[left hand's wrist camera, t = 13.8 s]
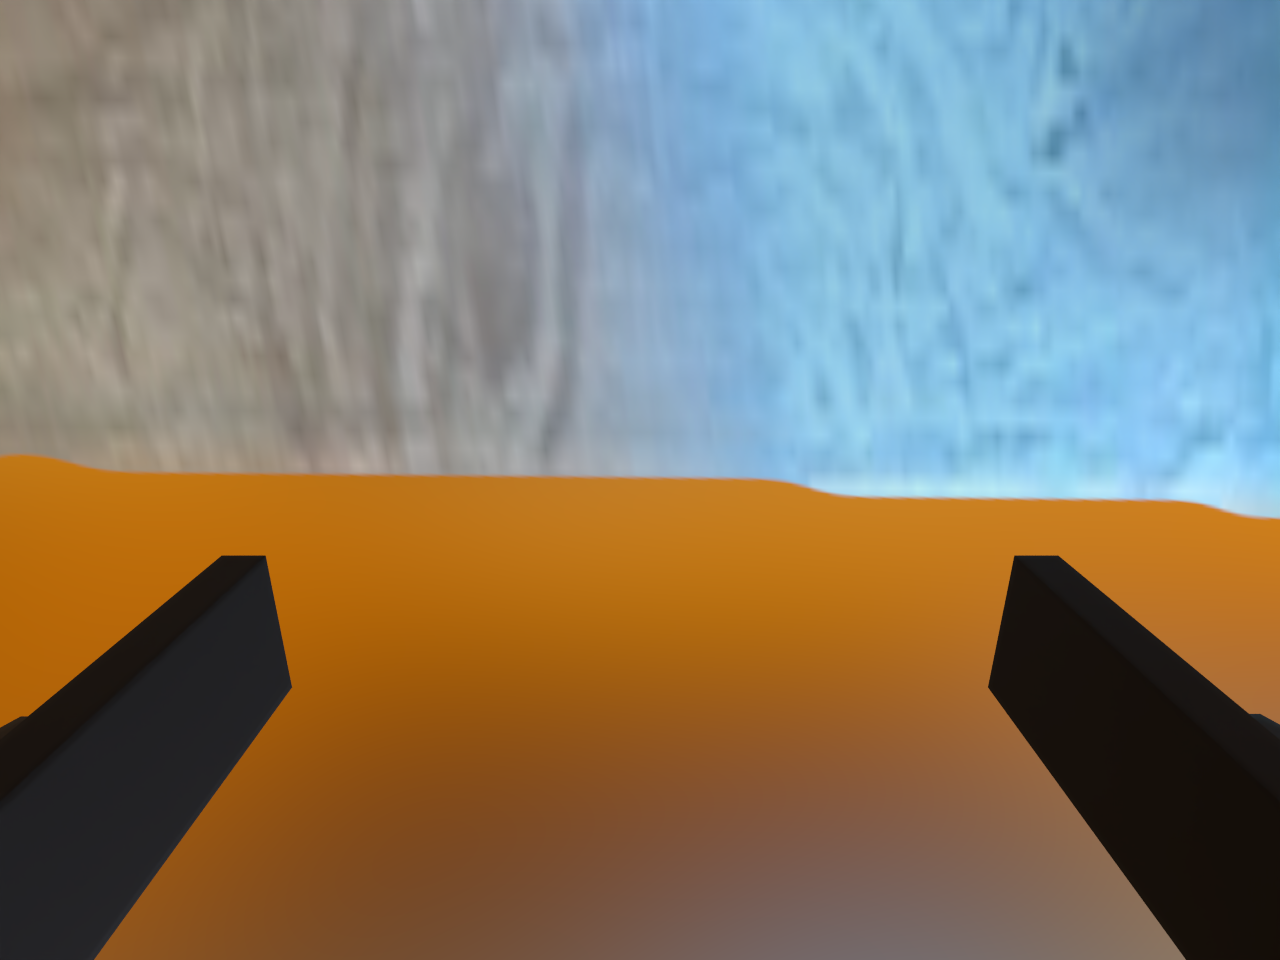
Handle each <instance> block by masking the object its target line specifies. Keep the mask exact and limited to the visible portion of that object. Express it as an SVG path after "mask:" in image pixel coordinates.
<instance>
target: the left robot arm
mask: <svg viewBox="0 0 1280 960" xmlns="http://www.w3.org/2000/svg"><path fill="white" fill-rule="evenodd" d="M291 688H292V685H291V680H290V676H289V671H288V665H287V661H286V655H285V651H284V645H283V640H282V636H281V631H280V625H279V620H278V616H277V610H276V605H275V601H274V596H273V591H272V586H271V581H270V576H269V571H268V566H267V561H266V556H221V557H220V558H218V559H217V560H216V561H215V562H214V563H212V564H211V565H210V566H209V567H208V568H206V569H205V570H204V571H203V572H202V573H200V574H199V575H198V576H197V577H195V578H194V579H193V580H192V581H191V582H189V583H188V584H187V585H186V586H185V587H183V588H182V589H181V590H180V591H179V592H177V593H176V594H175V595H174V596H173V597H171V598H170V599H169V600H168V601H167V602H165V603H164V604H163V605H162V606H161V607H159V608H158V609H157V610H156V611H155V612H153V613H152V614H151V615H150V616H149V617H147V618H146V619H145V620H144V621H143V622H141V623H140V624H139V625H138V626H136V627H135V628H134V629H133V630H132V631H130V632H129V633H128V634H127V635H126V636H124V637H123V638H122V639H121V640H120V641H118V642H117V643H116V644H115V645H114V646H112V647H111V648H110V649H109V650H108V651H106V652H105V653H104V654H103V655H102V656H100V657H99V658H98V659H97V660H95V661H94V662H93V663H92V664H91V665H89V666H88V667H87V668H86V669H85V670H83V671H82V672H81V673H80V674H79V675H77V676H76V677H75V678H74V679H73V680H71V681H70V682H69V683H68V684H67V685H65V686H64V687H63V688H62V689H61V690H59V691H58V692H57V693H56V694H55V695H53V696H52V697H51V698H50V699H49V700H47V701H46V702H45V703H44V704H42V705H41V706H40V707H39V708H38V709H36V710H35V711H34V712H33V713H32V714H30V715H29V716H28V717H19V718H17V719H15V720H13V721H12V722H10V723H8V724H6V725H4V726H3V727H1V728H0V960H94V959H95V957H96V956H97V955H98V953H99V952H100V951H101V949H102V948H103V946H104V945H105V944H106V942H107V941H108V940H109V938H110V937H111V935H112V934H113V933H114V931H115V930H116V929H117V927H118V926H119V924H120V923H121V922H122V920H123V919H124V917H125V916H126V915H127V913H128V912H129V911H130V909H131V908H132V907H133V905H134V904H135V902H136V901H137V900H138V898H139V897H140V896H141V894H142V893H143V891H144V890H145V889H146V887H147V886H148V885H149V883H150V882H151V880H152V879H153V878H154V876H155V875H156V873H157V872H158V871H159V869H160V868H161V867H162V865H163V864H164V863H165V861H166V860H167V858H168V857H169V856H170V854H171V853H172V852H173V850H174V849H175V847H176V846H177V845H178V843H179V842H180V841H181V839H182V838H183V836H184V835H185V834H186V832H187V831H188V829H189V828H190V827H191V825H192V824H193V823H194V821H195V820H196V818H197V817H198V816H199V814H200V813H201V812H202V810H203V809H204V808H205V806H206V805H207V803H208V802H209V801H210V799H211V798H212V796H213V795H214V794H215V792H216V791H217V790H218V788H219V787H220V786H221V784H222V783H223V781H224V780H225V779H226V777H227V776H228V774H229V773H230V772H231V770H232V769H233V768H234V766H235V765H236V763H237V762H238V761H239V759H240V758H241V757H242V755H243V754H244V753H245V751H246V750H247V748H248V747H249V746H250V744H251V743H252V742H253V740H254V739H255V737H256V736H257V735H258V733H259V732H260V730H261V729H262V728H263V726H264V725H265V724H266V722H267V721H268V719H269V718H270V717H271V715H272V714H273V713H274V711H275V710H276V708H277V707H278V706H279V704H280V703H281V702H282V700H283V699H284V697H285V696H286V695H287V693H288V692H289V691H290V689H291ZM988 688H989V689H990V691H991V692H992V693H993V695H994V696H995V697H996V699H997V700H998V702H999V703H1000V704H1001V706H1002V707H1003V708H1004V710H1005V711H1006V713H1007V714H1008V715H1009V717H1010V718H1011V719H1012V721H1013V722H1014V724H1015V725H1016V726H1017V728H1018V729H1019V731H1020V732H1021V733H1022V735H1023V736H1024V737H1025V739H1026V740H1027V741H1028V743H1029V744H1030V746H1031V747H1032V748H1033V750H1034V751H1035V753H1036V754H1037V755H1038V757H1039V758H1040V759H1041V761H1042V762H1043V764H1044V765H1045V766H1046V768H1047V769H1048V770H1049V772H1050V773H1051V775H1052V776H1053V777H1054V778H1055V780H1056V781H1057V783H1058V784H1059V786H1060V787H1061V788H1062V790H1063V791H1064V792H1065V794H1066V795H1067V796H1068V798H1069V799H1070V801H1071V802H1072V803H1073V805H1074V806H1075V808H1076V809H1077V810H1078V812H1079V813H1080V814H1081V816H1082V817H1083V819H1084V820H1085V821H1086V823H1087V824H1088V825H1089V827H1090V828H1091V830H1092V831H1093V832H1094V834H1095V835H1096V836H1097V838H1098V839H1099V841H1100V842H1101V843H1102V845H1103V846H1104V847H1105V849H1106V850H1107V852H1108V853H1109V854H1110V856H1111V857H1112V858H1113V860H1114V861H1115V863H1116V864H1117V865H1118V867H1119V868H1120V869H1121V871H1122V872H1123V873H1124V875H1125V876H1126V878H1127V879H1128V880H1129V882H1130V883H1131V884H1132V886H1133V887H1134V889H1135V890H1136V891H1137V893H1138V894H1139V896H1140V897H1141V898H1142V900H1143V901H1144V902H1145V904H1146V905H1147V906H1148V908H1149V909H1150V911H1151V912H1152V913H1153V915H1154V916H1155V917H1156V919H1157V920H1158V922H1159V923H1160V924H1161V926H1162V927H1163V929H1164V930H1165V931H1166V933H1167V934H1168V935H1169V937H1170V938H1171V939H1172V941H1173V942H1174V944H1175V945H1176V946H1177V948H1178V949H1179V951H1180V952H1181V953H1182V955H1183V956H1184V957H1185V959H1186V960H1280V725H1279V724H1278V723H1276V722H1274V721H1272V720H1270V719H1268V718H1267V717H1265V716H1263V715H1261V714H1248V713H1247V712H1246V711H1245V710H1244V709H1242V708H1241V707H1240V706H1239V705H1238V704H1236V703H1235V702H1234V701H1233V700H1231V699H1230V698H1229V697H1228V696H1227V695H1225V694H1224V693H1223V692H1222V691H1221V690H1219V689H1218V688H1217V687H1216V686H1215V685H1213V684H1212V683H1211V682H1210V681H1209V680H1207V679H1206V678H1205V677H1204V676H1203V675H1201V674H1200V673H1199V672H1198V671H1197V670H1195V669H1194V668H1193V667H1192V666H1190V665H1189V664H1188V663H1187V662H1186V661H1184V660H1183V659H1182V658H1181V657H1180V656H1178V655H1177V654H1176V653H1175V652H1174V651H1172V650H1171V649H1170V648H1169V647H1168V646H1166V645H1165V644H1164V643H1163V642H1161V641H1160V640H1159V639H1158V638H1157V637H1156V636H1154V635H1153V634H1152V633H1151V632H1150V631H1148V630H1147V629H1146V628H1145V627H1144V626H1142V625H1141V624H1140V623H1139V622H1137V621H1136V620H1135V619H1134V618H1133V617H1131V616H1130V615H1129V614H1128V613H1127V612H1125V611H1124V610H1123V609H1122V608H1121V607H1119V606H1118V605H1117V604H1116V603H1115V602H1113V601H1112V600H1111V599H1110V598H1109V597H1107V596H1106V595H1105V594H1104V593H1102V592H1101V591H1100V590H1099V589H1098V588H1097V587H1095V586H1094V585H1093V584H1092V583H1090V582H1089V581H1088V580H1087V579H1086V578H1085V577H1083V576H1082V575H1081V574H1080V573H1078V572H1077V571H1076V570H1075V569H1074V568H1072V567H1071V566H1070V565H1069V564H1068V563H1066V562H1065V561H1064V560H1063V559H1062V558H1060V557H1059V556H1014V561H1013V566H1012V571H1011V576H1010V581H1009V586H1008V591H1007V596H1006V600H1005V606H1004V610H1003V616H1002V620H1001V625H1000V631H999V636H998V641H997V645H996V650H995V655H994V661H993V665H992V670H991V675H990V680H989V685H988Z"/></svg>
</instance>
